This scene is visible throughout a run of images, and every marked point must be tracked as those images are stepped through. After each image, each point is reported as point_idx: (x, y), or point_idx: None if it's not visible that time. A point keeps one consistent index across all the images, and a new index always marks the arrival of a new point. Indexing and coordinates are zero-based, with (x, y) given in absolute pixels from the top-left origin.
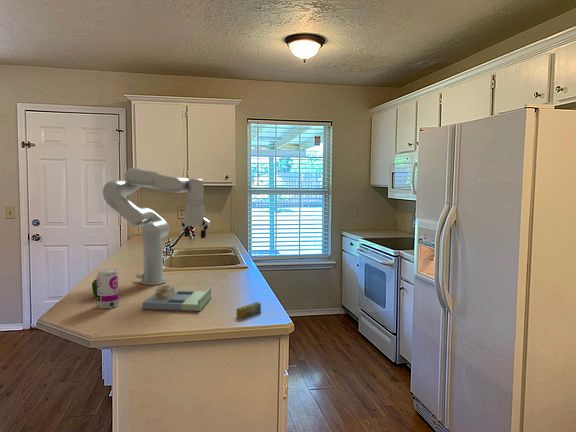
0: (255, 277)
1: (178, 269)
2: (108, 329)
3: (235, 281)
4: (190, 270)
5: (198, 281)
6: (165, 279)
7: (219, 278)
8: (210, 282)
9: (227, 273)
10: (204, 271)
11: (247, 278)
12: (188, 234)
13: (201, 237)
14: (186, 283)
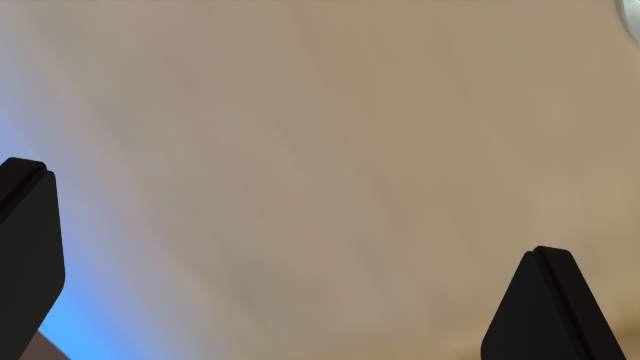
0: None
1: None
2: None
3: (87, 177)
4: None
5: (346, 102)
6: (630, 16)
7: (238, 221)
8: (242, 100)
9: (254, 340)
10: (421, 349)
11: None
12: (499, 352)
13: (9, 162)
14: (416, 13)
